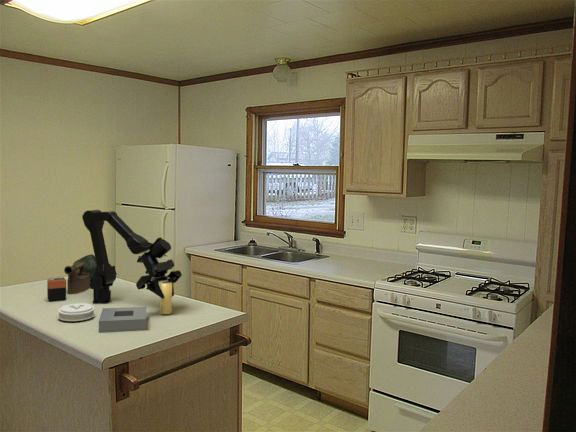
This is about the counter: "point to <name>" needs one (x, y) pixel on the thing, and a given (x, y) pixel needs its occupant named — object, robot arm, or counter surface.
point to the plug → (166, 298)
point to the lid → (76, 312)
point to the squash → (88, 265)
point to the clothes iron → (77, 279)
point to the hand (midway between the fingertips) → (168, 297)
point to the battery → (56, 289)
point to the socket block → (122, 319)
